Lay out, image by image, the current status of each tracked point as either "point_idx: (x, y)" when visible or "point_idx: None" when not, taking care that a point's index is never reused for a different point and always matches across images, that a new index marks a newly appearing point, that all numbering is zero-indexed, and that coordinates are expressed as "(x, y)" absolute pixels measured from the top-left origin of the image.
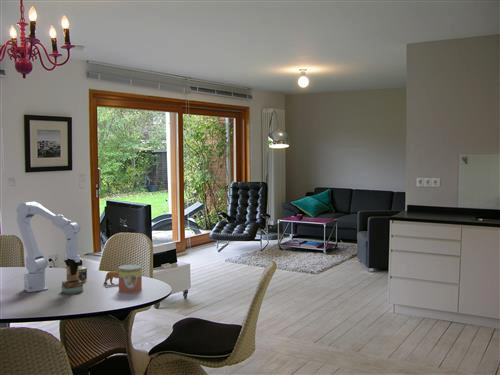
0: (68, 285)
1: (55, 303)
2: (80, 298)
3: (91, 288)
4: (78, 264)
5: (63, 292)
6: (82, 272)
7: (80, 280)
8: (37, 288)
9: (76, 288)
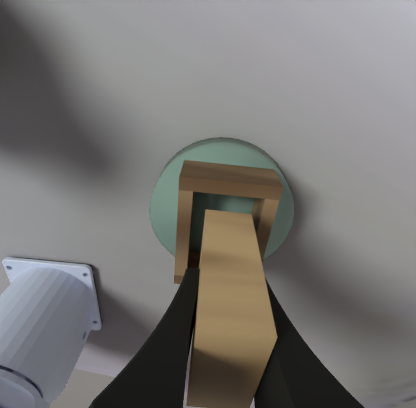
0: None
1: (347, 326)
2: (390, 237)
3: (242, 60)
4: (346, 394)
5: None
6: None
7: (240, 186)
8: (87, 309)
9: (291, 225)
